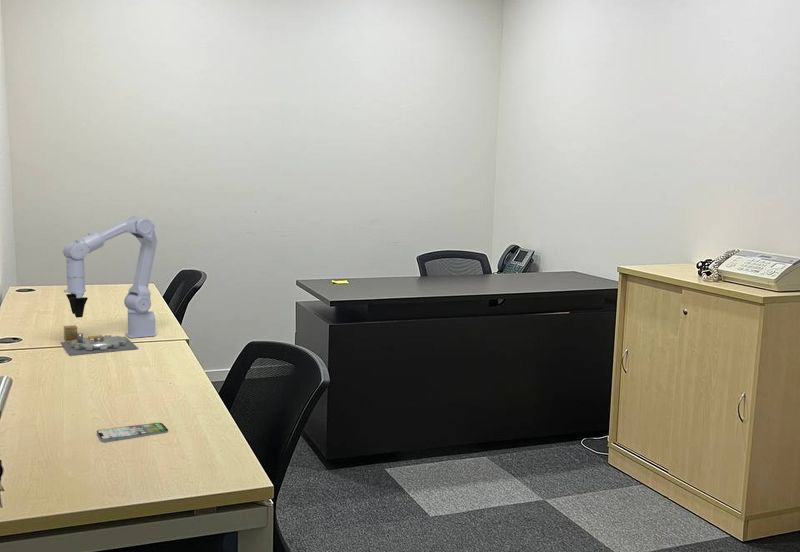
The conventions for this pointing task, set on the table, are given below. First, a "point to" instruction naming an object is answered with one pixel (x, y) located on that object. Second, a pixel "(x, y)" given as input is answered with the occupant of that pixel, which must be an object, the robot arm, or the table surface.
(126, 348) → the plate
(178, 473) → the table surface
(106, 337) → the sprocket
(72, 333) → the brushed gold block
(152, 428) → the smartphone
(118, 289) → the table surface
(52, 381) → the table surface
